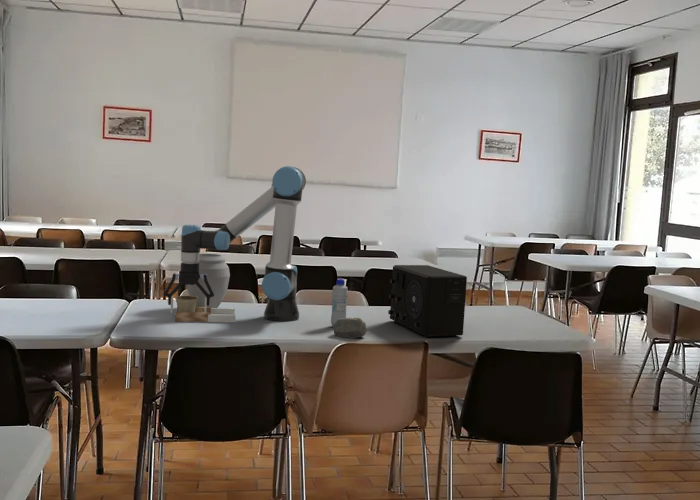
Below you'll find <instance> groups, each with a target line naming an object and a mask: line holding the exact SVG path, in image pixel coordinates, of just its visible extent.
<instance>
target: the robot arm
mask: <svg viewBox="0 0 700 500" xmlns="http://www.w3.org/2000/svg"><path fill="white" fill-rule="evenodd" d="M271 182H272V183H271V185H270V186H271V187H270V188H268V189H267V190H266V191H265V192H263V194H261V195H259V197H257V198H256V199H255V200H254V201H252V202H251V203H250V204H248V206H246V207H245V208H243V209H242V210H241V211H240V212H238V213H237V214H236V215H235V216H234V217H233V218H231V219H230V220H229V221H227V222H226V223H225V224H224V225H222V226H221V227H220V228H219V229H216V230H203V229H201V226H200V225H198V224H185V225H183V226H182V227H181V235H180V236H181V237H180V239H181V242H180V243H181V244H180V245H181V247H180V248H181V249H180V273H179V274H178V273H176V272H174V273H172V276H171V277H172V278H171V280H170V282H169V284H168V286H167V287H166V289H165V290H164V293H163V296H165V297H167V304H168V306H170V314H173V313H174V296H173V295H175V293H176V292H177V291H178V290H179V289H180V288H181V287H182V286H183V284H184V285H186V286H187V285H189V284H190V285H194V284H196V285H197V286H198V287H199V289H200V290H201V291H202V292H203V294H204V295H205V296H206V297H205V311H204V313H206V308H207V306H209V302H210V297H213V296H214V293H213V291H212V289H211V286H210V284H209V282H208V280H207V275H206V274H204V275H200V274H199V263H198V262H199V259H200V254H201V253H200V251H201V249H206V250H217V251H226V250H228V249H229V247H230V244H232V242H233V241H235V240H237V238H238V237H240V236H241V235H242V234H243V233H244V232H246V231H247V230H248V229H250V228H251V227H252V226H253V225H254V224H256V223H257V222H258V221H260V220H261V219H262V218H263V217H264V216H266V215H267V214H269V212H271V211H273V209H274V219H273V227H272V236H271V237H272V238H271V247H270V256H269V261H268V262H267V263H266V265H265V267H264V269H265V270H264V277H263V279H262V282H261V290H262V291H263V294H264V295H265V296H266V297H267V298H268V301H267V303H266V306H265V309H264V311H263V318H264V319H267V320H270V321H276V322H277V321H281V322H289V321H297V320H299V319H300V311H299V308H298V304H297V285H298V283H297V282H298V281H297V280H298V268H297V266H296V265H293V264H292V256H293V255H292V254H293V247H294V246H293V245H294V236H295V235H294V234H295V227H296V219H297V218H296V217H297V208H298V205H299V204H301V202H302V197H303V196H302V195H303V190H304V188H305V187H306V183H307V179H306V175H305V173H304V172H303V171H302V170H301V169H300V168H298V167H296V166H295V167H294V166H291V165H289V166H287V165H286V166H282V167H280V168H278V169H277V170H276V171H275V172H274V174H273V176H272V181H271ZM178 278H179V279H180V280H181V281H179V283H178V284H177V285H176V286H175V287H174V288H173V289H172V286H173V284H174V283H175V280H177V279H178ZM199 278H202V280H204V282H205V284H206V286H207V288H208V290H209V292H210V294H208V293H207V291H206V290H205V289H204V288H203V287H202V285H201V284H200V283H199V282H198V280H199ZM171 289H172V290H171ZM170 290H171V291H170ZM169 291H170V293H169Z"/></svg>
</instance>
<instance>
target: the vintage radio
mask: <svg viewBox="0 0 700 500" xmlns="http://www.w3.org/2000/svg"><path fill="white" fill-rule="evenodd" d="M467 281H468V276H466V275H463V274H460V273H456V272H452V271H449V270H445V269H443V268H439V267H435V266H433V265H432V266H431V265H428V264H425V265H424V264H422V265H421V264H409V265H408V264H395V265H393V266H392V276H391V279H390V280H389V283H390V284H391V292H390V293H391V294H389V295H388V298H389V299H390V309H388V310H387V313H388V315H389V319H390V320H392V321H393V323H395V324H397V323H398V324H400V325H402V326H404V327H406V328H409V329H410V330H412V331H414V332H417V333H419V334H420V335H423V338H426V339H427V338H428V339H429V338H431V337H449V336H450V337H453V338H455V337H456V338H457V336H463V335H464V325H465V313H466V312H465V311H466V296H467Z"/></svg>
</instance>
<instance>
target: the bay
mask: <svg viewBox="0 0 700 500" xmlns="http://www.w3.org/2000/svg"><path fill="white" fill-rule="evenodd" d="M235 310H236V308H235V307H234V308H233V307H231V308H229V307H222V308H221V307H217V308H211V315H208V322H207V323H228V322H235V323H236V314H235Z"/></svg>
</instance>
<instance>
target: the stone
mask: <svg viewBox="0 0 700 500" xmlns="http://www.w3.org/2000/svg"><path fill="white" fill-rule="evenodd" d="M367 332H368V328H367V325H366V322H365V321H363V319H362V318H360V317H346V318H342V319H338V320H337V321H336V323H335V325H334V327H333V333H334V335H335V336H338V337H340V338H341V337H342V338H347V339H348V338H349V339H357V338H362V337H364V336H366V334H367Z"/></svg>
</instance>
